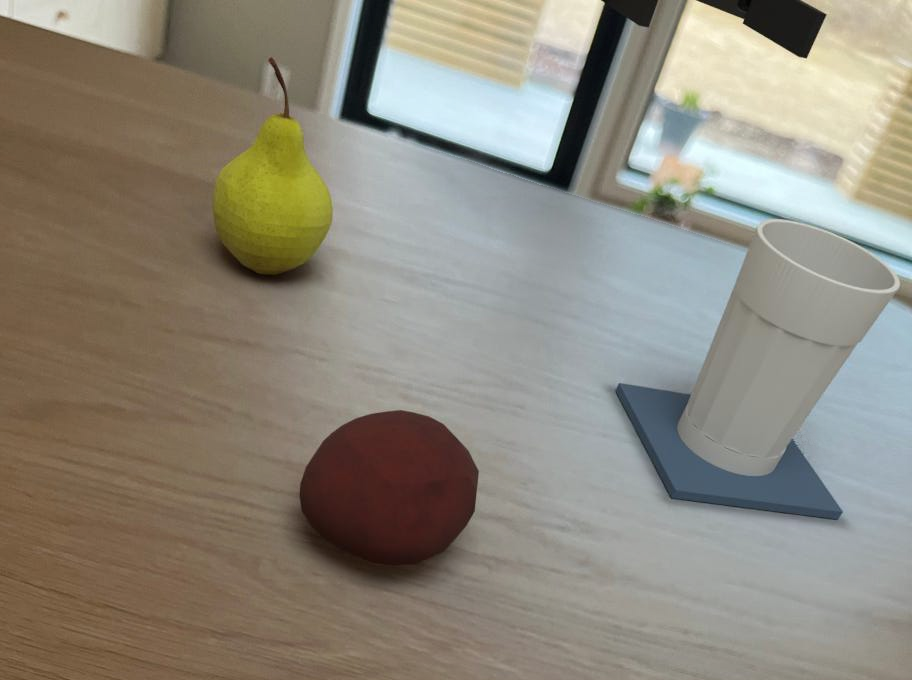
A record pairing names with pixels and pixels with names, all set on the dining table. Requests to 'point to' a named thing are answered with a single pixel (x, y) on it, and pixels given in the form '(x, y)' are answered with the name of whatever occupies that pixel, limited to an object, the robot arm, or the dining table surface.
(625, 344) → the dining table surface
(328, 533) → the potato
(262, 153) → the fruit
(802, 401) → the cup
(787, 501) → the mat
